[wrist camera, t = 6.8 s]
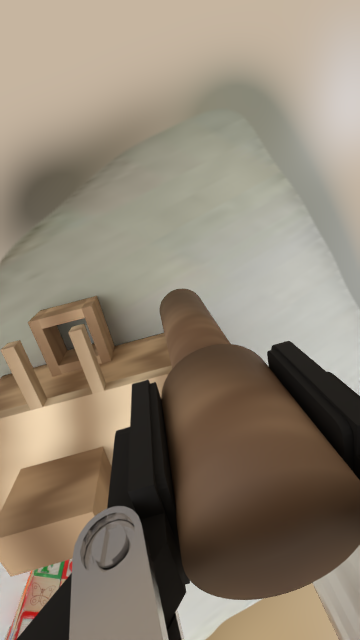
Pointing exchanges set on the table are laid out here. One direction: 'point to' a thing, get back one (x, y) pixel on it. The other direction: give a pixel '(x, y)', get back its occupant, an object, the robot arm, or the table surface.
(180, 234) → the table surface
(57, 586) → the stack of blocks
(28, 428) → the lid
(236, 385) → the wooden bottle
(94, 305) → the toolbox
